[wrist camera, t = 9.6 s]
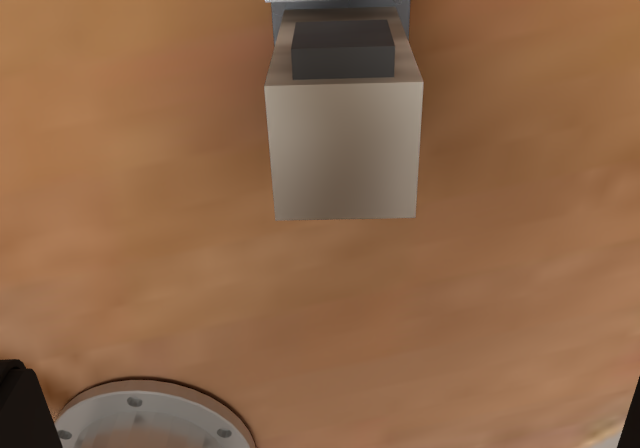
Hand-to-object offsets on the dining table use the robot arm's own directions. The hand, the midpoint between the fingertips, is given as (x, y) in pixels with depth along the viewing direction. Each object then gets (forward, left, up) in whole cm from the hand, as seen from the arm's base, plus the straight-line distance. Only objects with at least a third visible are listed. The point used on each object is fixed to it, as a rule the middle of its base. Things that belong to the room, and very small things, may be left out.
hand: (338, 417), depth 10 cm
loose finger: (0, 0, -16) cm, 16 cm away
